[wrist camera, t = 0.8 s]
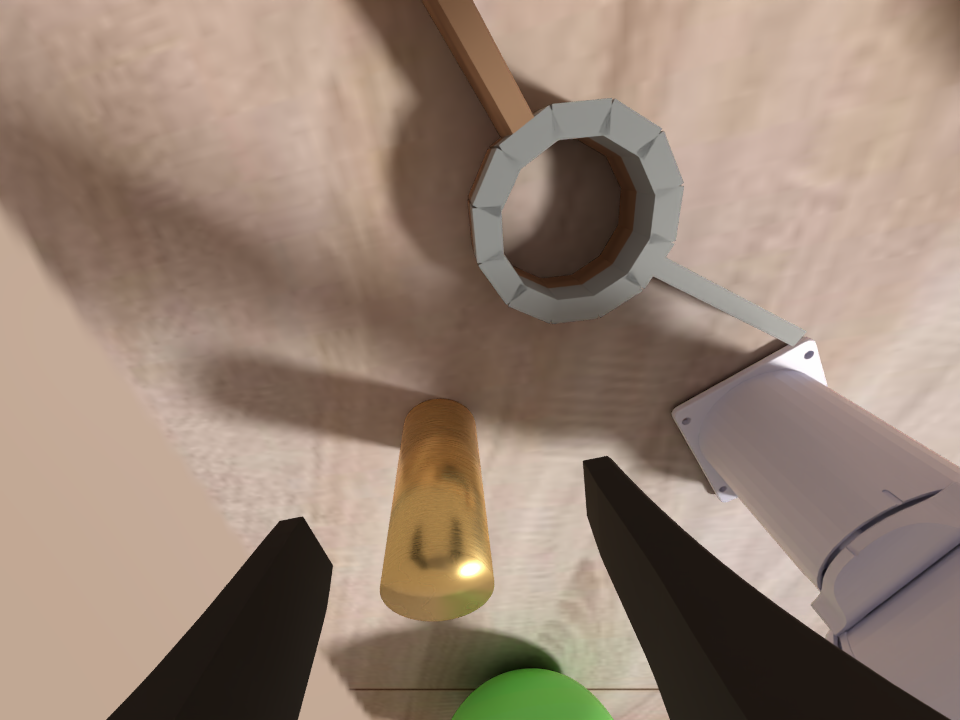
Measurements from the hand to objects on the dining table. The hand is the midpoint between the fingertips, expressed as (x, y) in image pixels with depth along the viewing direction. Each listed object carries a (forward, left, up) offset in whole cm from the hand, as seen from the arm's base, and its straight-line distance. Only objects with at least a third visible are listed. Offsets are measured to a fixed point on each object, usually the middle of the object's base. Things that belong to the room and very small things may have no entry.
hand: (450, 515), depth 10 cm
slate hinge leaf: (-1, -9, -10) cm, 14 cm away
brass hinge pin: (-4, +4, -10) cm, 12 cm away
